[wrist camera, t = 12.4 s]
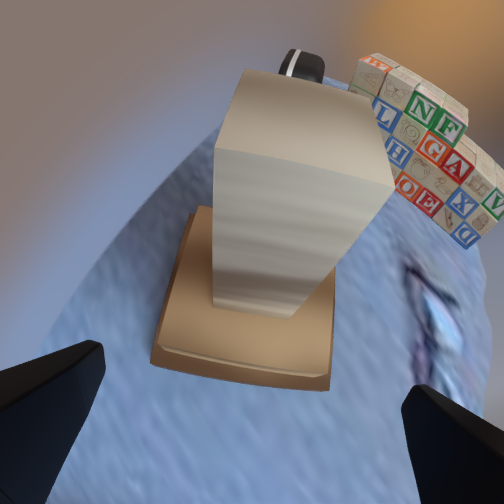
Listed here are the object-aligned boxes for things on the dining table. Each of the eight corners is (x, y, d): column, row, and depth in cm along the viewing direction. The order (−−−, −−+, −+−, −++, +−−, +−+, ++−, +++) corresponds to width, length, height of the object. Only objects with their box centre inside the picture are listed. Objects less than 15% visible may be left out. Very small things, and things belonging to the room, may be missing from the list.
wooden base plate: (317, 392, 19) (329, 390, 17) (157, 367, 19) (149, 362, 17) (325, 254, 25) (334, 239, 23) (191, 230, 25) (189, 213, 23)
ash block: (287, 319, 17) (395, 188, 6) (212, 307, 17) (214, 147, 6) (293, 254, 19) (369, 98, 9) (226, 242, 19) (244, 68, 8)
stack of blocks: (471, 221, 30) (526, 162, 19) (465, 252, 27) (532, 189, 16) (347, 127, 35) (377, 50, 24) (326, 144, 32) (358, 56, 21)
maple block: (314, 377, 18) (327, 373, 15) (164, 350, 18) (157, 342, 15) (324, 249, 23) (335, 232, 20) (200, 224, 22) (198, 204, 20)
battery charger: (296, 174, 29) (326, 77, 19) (260, 164, 29) (278, 65, 19) (305, 136, 32) (330, 53, 22) (274, 128, 32) (292, 43, 22)
